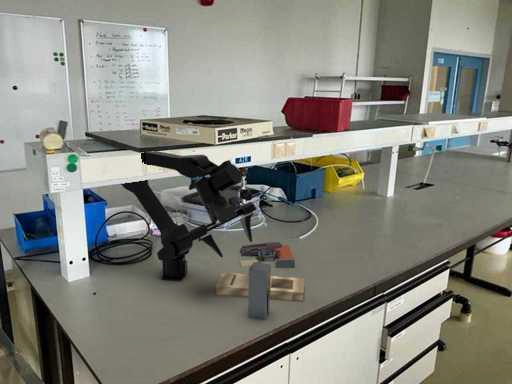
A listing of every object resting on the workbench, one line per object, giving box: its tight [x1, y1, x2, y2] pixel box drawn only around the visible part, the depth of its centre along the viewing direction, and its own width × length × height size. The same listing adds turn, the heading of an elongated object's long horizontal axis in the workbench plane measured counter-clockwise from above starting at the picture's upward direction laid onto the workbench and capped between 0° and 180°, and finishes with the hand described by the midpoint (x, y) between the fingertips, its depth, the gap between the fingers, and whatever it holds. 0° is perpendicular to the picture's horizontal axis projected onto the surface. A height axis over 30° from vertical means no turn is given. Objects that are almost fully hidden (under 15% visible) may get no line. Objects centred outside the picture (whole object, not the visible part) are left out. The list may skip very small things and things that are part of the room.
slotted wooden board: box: [215, 272, 305, 302], centre depth 121 cm, size 24×9×3 cm, turn 83°
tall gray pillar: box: [247, 262, 272, 321], centre depth 107 cm, size 4×4×13 cm
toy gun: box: [239, 241, 296, 268], centre depth 144 cm, size 18×5×15 cm
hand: (236, 249), depth 116 cm, fingers open, 9 cm apart
